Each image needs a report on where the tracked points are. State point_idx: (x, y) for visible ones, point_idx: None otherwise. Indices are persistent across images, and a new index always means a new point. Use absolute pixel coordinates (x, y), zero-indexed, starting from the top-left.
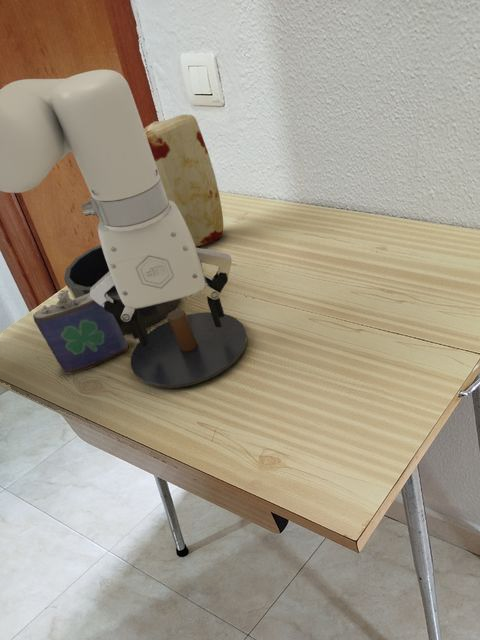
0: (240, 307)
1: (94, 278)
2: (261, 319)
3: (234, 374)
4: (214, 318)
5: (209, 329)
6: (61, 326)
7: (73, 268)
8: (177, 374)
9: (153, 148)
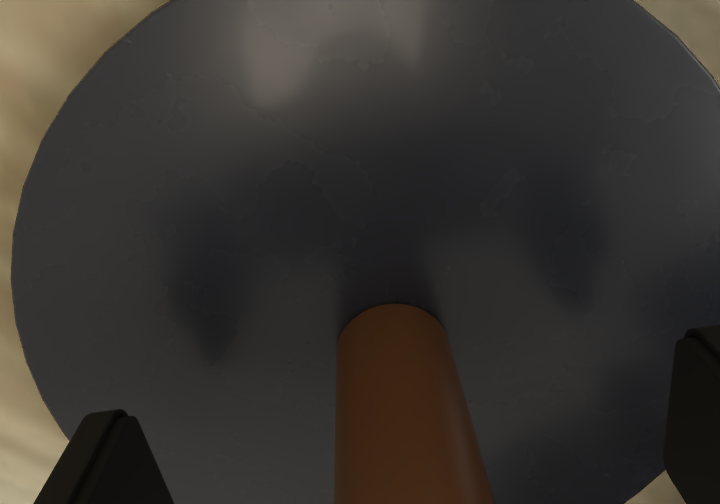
0: None
1: None
2: (30, 488)
3: (52, 40)
4: (81, 475)
5: (278, 457)
6: None
7: None
8: (447, 68)
9: None
